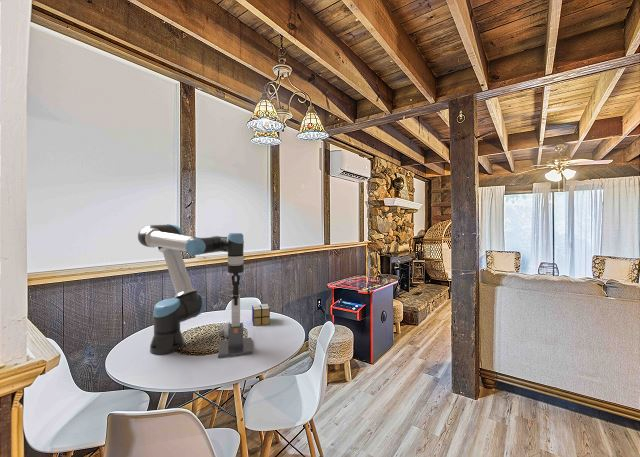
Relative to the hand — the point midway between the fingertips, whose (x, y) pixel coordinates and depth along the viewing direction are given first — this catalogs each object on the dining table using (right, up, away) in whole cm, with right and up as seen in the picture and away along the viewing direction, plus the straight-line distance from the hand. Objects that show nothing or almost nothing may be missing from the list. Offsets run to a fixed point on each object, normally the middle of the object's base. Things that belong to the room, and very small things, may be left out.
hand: (235, 307), depth 143 cm
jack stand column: (0, -13, +1) cm, 13 cm away
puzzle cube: (+5, -20, +37) cm, 42 cm away
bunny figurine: (-11, -20, +19) cm, 30 cm away
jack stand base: (0, -21, +1) cm, 21 cm away
